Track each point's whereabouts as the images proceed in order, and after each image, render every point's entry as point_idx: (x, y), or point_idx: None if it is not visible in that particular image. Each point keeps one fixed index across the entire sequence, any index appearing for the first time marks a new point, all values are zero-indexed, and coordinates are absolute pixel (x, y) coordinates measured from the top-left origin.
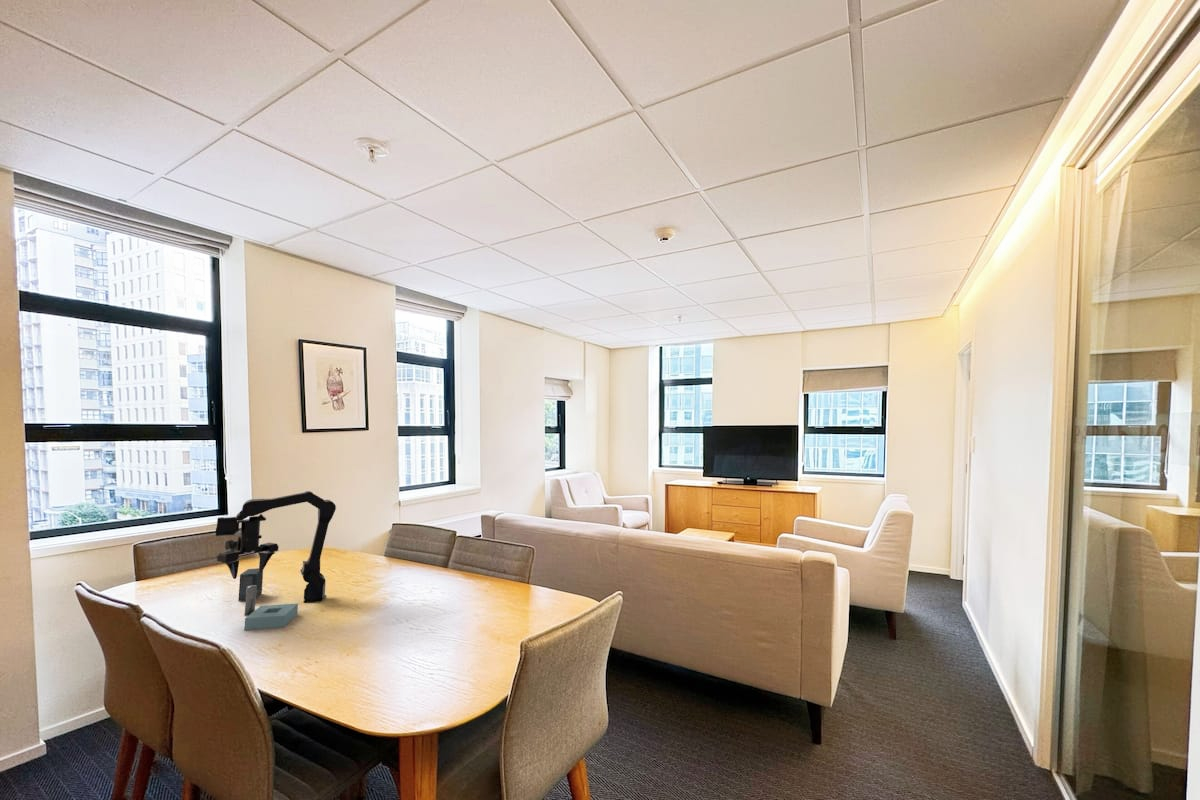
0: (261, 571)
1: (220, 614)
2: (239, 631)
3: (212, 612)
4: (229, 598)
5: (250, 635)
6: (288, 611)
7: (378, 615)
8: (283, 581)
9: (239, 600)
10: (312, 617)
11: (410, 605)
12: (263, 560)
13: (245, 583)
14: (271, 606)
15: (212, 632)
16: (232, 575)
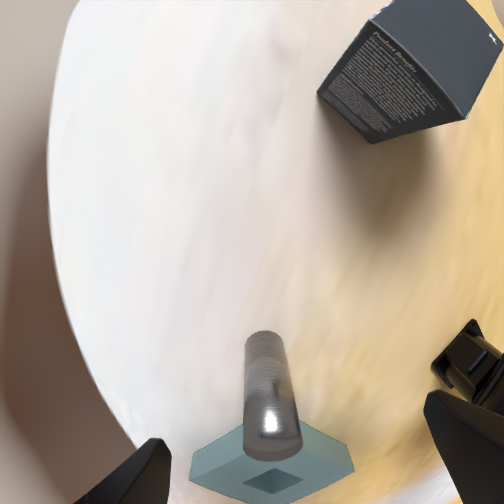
0: (427, 415)
1: (178, 243)
2: (182, 450)
3: (165, 176)
4: (301, 22)
5: None
6: (294, 499)
7: (396, 498)
8: None
9: (320, 96)
10: None
11: (447, 479)
12: (479, 498)
13: (374, 82)
14: (293, 459)
15: (123, 406)
16: (132, 463)
